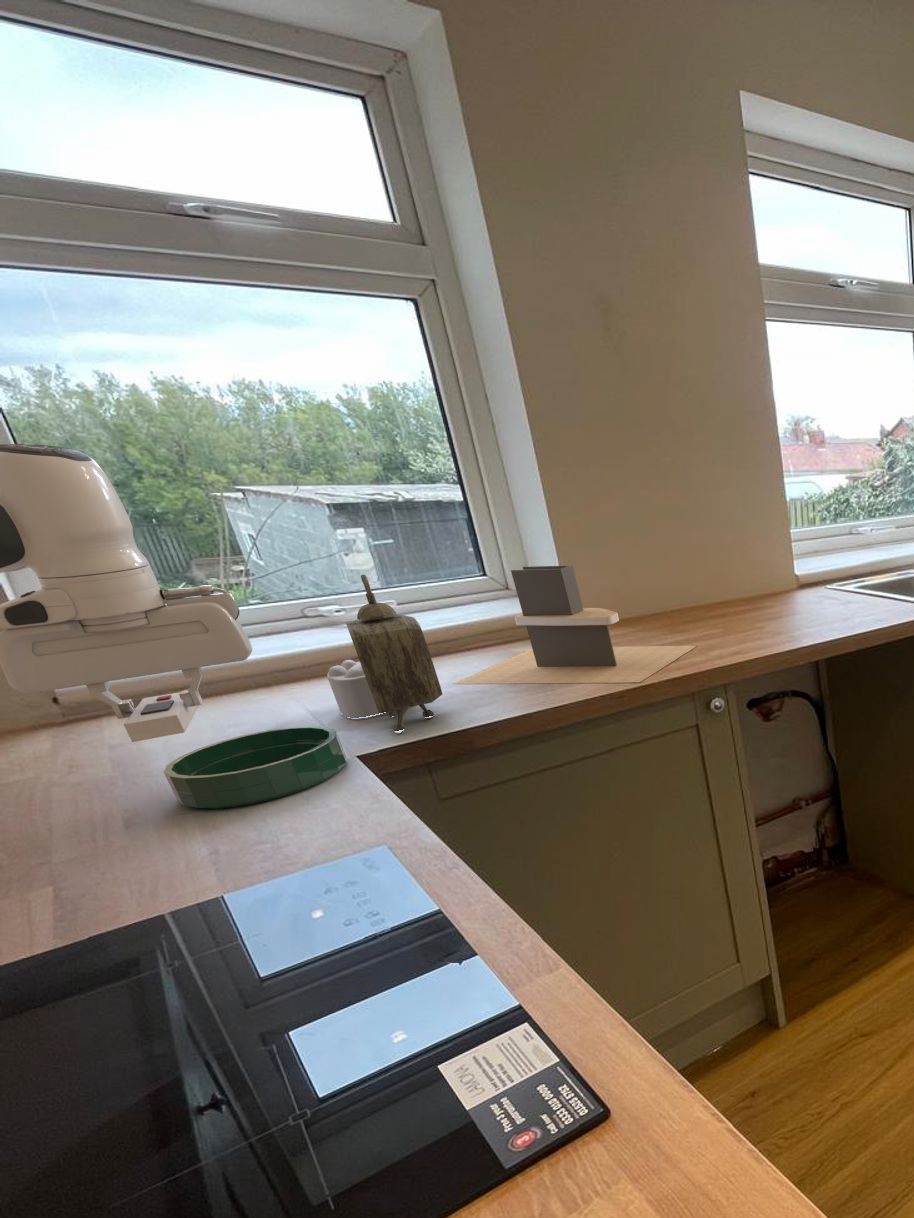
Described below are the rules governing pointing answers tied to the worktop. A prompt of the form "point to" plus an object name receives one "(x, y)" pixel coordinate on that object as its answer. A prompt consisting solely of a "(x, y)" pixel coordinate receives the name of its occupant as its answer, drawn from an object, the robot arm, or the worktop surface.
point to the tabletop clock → (393, 659)
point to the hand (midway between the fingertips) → (161, 710)
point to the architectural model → (569, 638)
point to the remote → (159, 717)
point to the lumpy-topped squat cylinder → (352, 690)
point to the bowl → (255, 767)
